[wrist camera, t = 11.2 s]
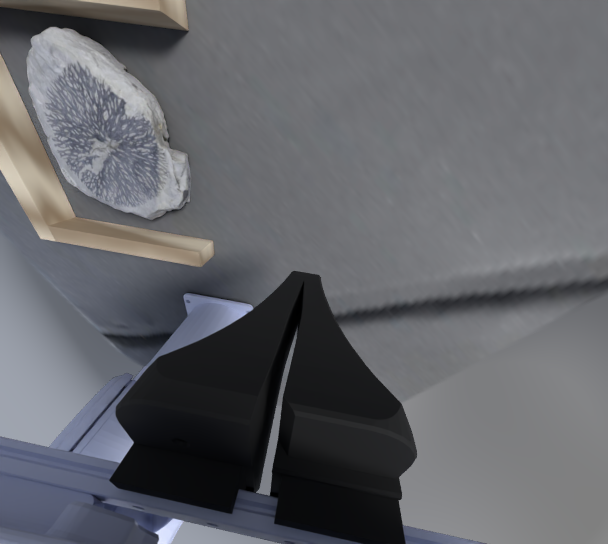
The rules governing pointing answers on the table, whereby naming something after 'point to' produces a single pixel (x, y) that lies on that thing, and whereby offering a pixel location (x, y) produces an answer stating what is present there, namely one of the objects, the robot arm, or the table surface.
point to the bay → (39, 171)
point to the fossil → (104, 126)
